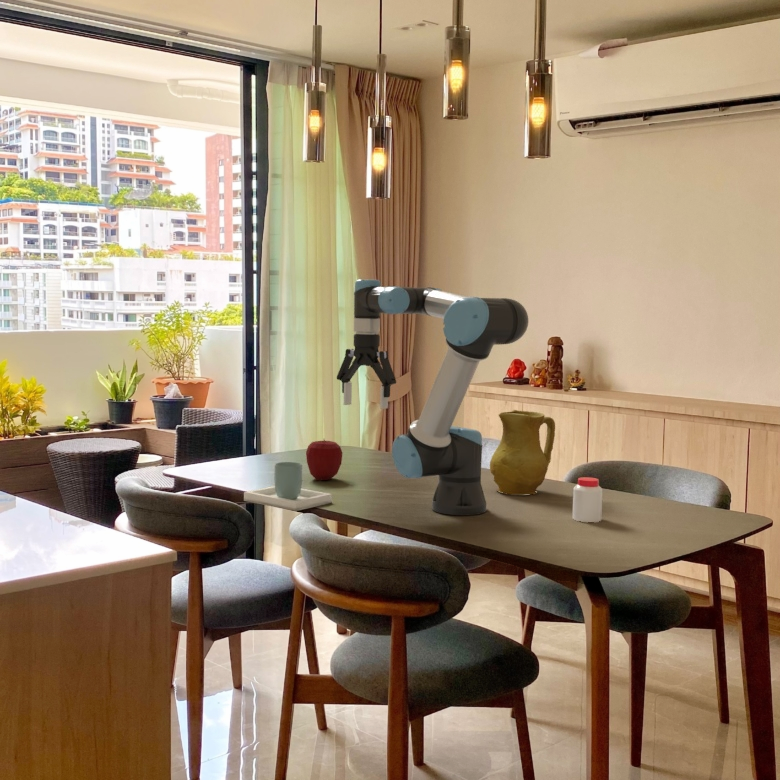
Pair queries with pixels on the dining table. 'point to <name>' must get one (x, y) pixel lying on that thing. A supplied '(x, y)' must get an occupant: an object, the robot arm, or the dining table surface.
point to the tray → (302, 502)
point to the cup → (288, 479)
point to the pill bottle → (587, 500)
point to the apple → (324, 459)
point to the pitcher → (522, 452)
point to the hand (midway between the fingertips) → (365, 406)
